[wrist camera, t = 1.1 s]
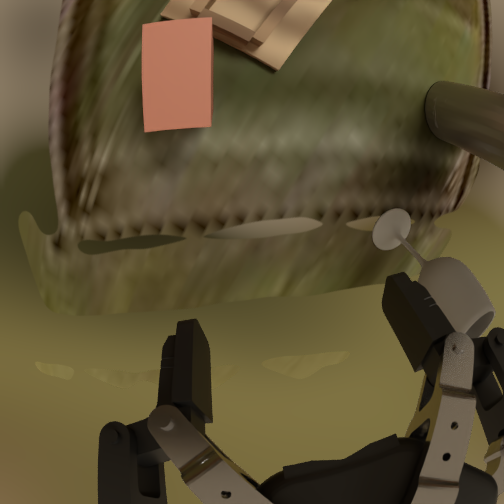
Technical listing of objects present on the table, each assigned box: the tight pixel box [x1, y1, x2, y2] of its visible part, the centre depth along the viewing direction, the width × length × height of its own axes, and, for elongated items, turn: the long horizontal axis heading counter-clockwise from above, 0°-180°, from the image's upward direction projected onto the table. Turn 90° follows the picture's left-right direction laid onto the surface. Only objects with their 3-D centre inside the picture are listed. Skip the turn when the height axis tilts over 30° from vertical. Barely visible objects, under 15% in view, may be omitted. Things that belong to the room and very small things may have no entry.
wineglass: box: [372, 208, 495, 338], centre depth 29 cm, size 8×8×21 cm
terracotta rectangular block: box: [142, 17, 214, 132], centre depth 18 cm, size 7×4×14 cm, turn 179°
